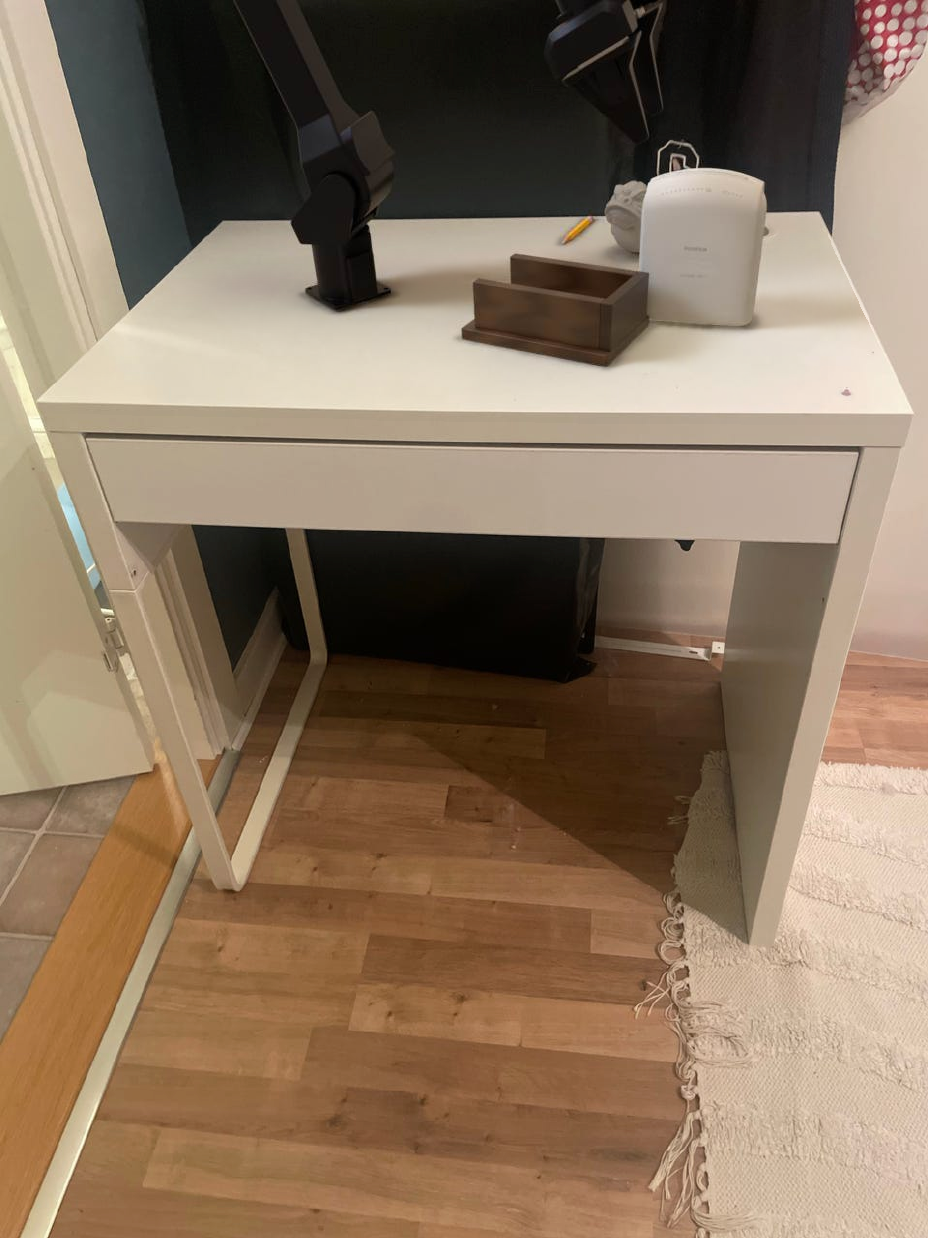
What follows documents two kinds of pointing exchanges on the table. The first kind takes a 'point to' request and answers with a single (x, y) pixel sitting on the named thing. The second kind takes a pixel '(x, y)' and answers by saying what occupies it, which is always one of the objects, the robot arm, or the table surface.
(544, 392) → the table surface
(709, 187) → the photo printer
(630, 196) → the frog figurine
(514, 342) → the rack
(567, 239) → the pencil
